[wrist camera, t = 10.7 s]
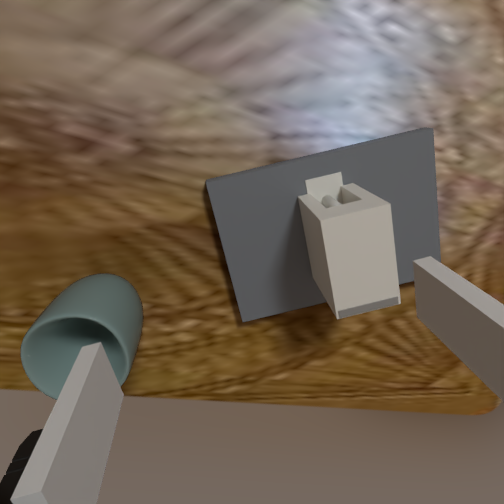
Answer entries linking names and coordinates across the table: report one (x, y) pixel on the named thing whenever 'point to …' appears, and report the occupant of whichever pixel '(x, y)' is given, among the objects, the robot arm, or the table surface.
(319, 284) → the housing
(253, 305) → the board
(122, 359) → the cup
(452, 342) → the robot arm
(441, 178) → the table surface
